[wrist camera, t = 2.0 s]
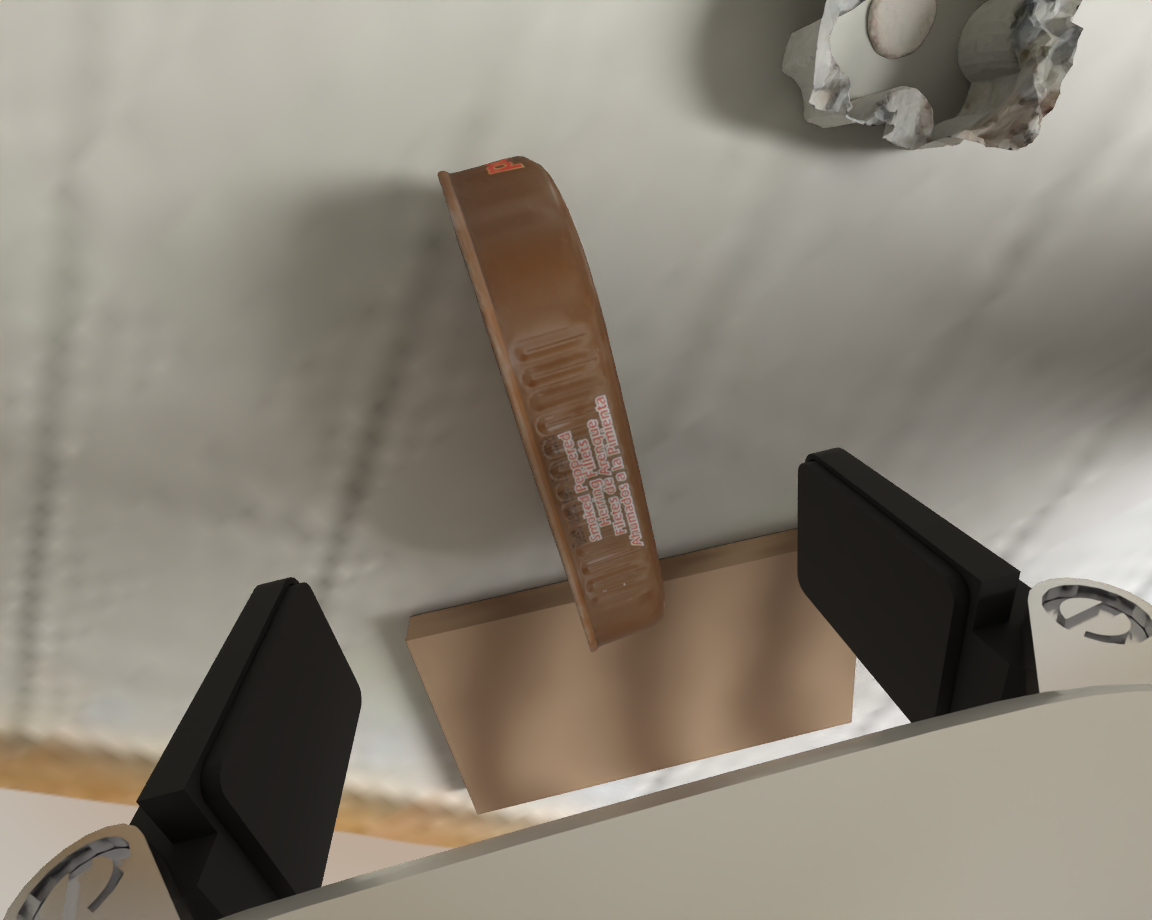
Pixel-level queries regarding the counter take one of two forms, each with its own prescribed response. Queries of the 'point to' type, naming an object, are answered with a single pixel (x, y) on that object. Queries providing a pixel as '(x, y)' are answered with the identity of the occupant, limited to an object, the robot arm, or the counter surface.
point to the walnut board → (632, 676)
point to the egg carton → (985, 56)
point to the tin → (561, 388)
